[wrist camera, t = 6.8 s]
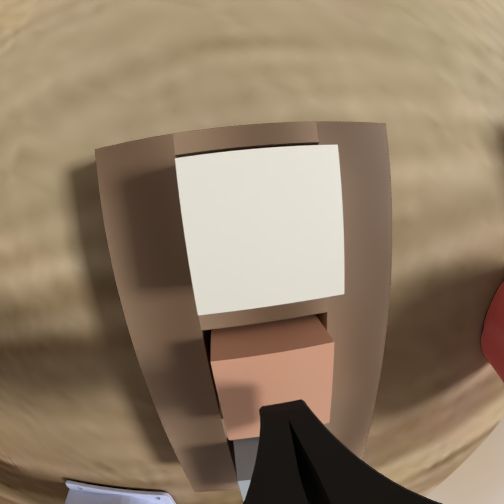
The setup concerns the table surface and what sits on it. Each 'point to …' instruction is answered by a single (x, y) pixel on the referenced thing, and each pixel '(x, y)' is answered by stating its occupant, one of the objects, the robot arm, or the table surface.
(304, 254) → the ivory key
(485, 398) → the table surface
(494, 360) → the flower pot
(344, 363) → the key frame
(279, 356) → the terracotta key
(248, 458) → the slate key
